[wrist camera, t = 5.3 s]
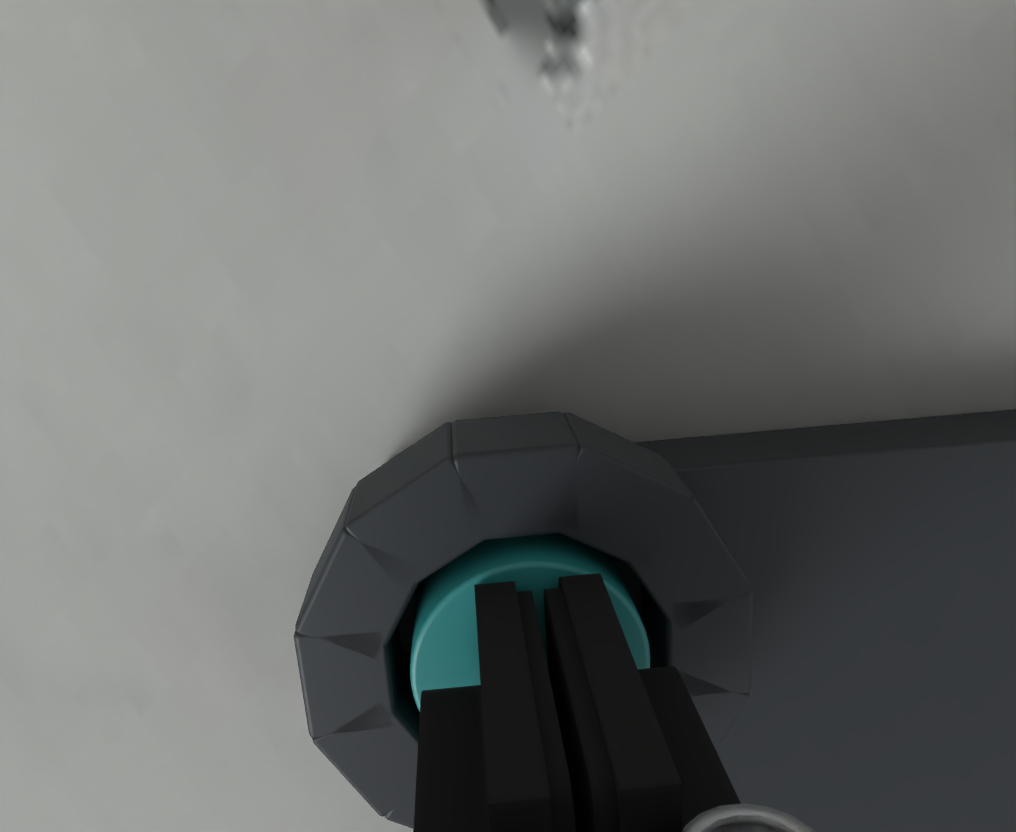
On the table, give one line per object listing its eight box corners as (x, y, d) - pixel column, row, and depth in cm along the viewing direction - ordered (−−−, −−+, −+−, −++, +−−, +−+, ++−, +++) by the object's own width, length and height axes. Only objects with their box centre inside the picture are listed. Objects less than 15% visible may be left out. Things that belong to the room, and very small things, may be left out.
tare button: (425, 715, 13) (421, 787, 11) (403, 524, 12) (397, 575, 10) (629, 694, 13) (653, 762, 11) (624, 504, 12) (649, 551, 10)
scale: (399, 1065, 17) (389, 1248, 14) (306, 405, 13) (266, 471, 10) (1058, 983, 17) (1178, 1141, 15) (1163, 336, 14) (1356, 378, 11)
